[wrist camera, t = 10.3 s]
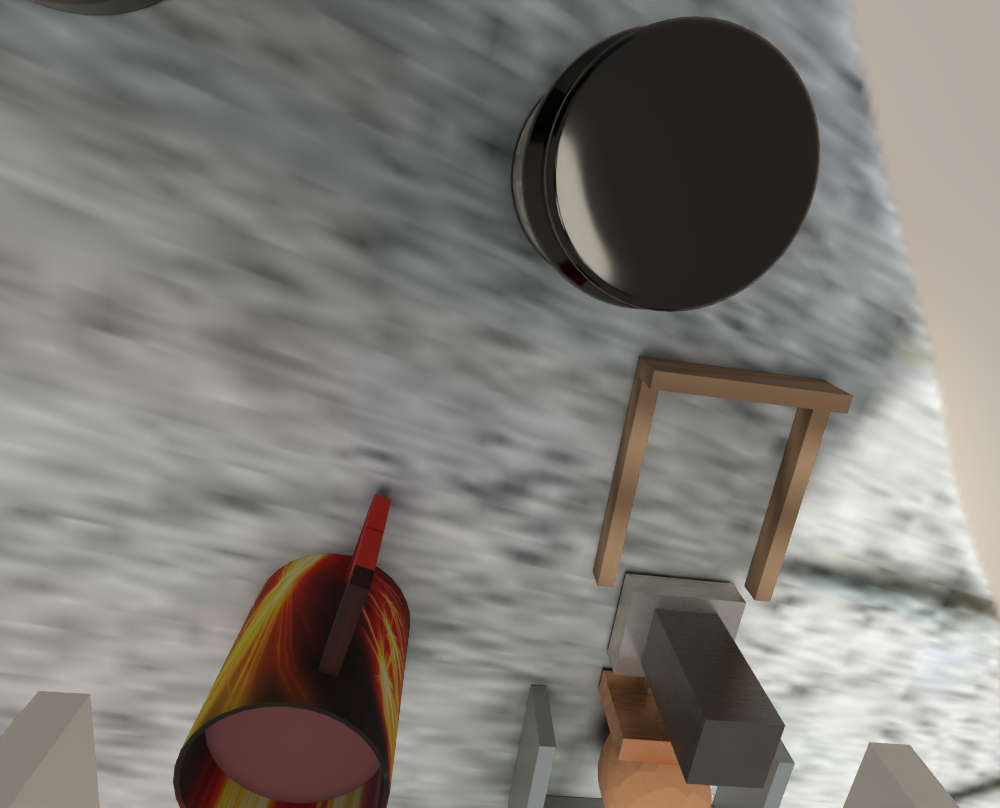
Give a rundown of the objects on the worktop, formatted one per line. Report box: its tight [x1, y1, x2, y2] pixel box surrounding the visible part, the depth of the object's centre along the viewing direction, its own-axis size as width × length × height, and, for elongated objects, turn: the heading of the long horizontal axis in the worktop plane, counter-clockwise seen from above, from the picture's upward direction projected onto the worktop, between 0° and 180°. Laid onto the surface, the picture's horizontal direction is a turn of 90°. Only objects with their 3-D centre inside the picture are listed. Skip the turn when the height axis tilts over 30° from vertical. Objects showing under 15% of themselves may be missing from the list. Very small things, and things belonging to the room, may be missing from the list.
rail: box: [593, 356, 853, 602], centre depth 38 cm, size 14×11×3 cm
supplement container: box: [510, 16, 820, 312], centre depth 28 cm, size 10×10×12 cm
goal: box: [508, 685, 795, 808], centre depth 43 cm, size 10×16×5 cm, turn 82°
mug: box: [173, 494, 410, 808], centre depth 34 cm, size 10×14×12 cm
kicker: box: [599, 574, 785, 789], centre depth 37 cm, size 9×7×11 cm
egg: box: [598, 733, 711, 808], centre depth 41 cm, size 7×7×9 cm
